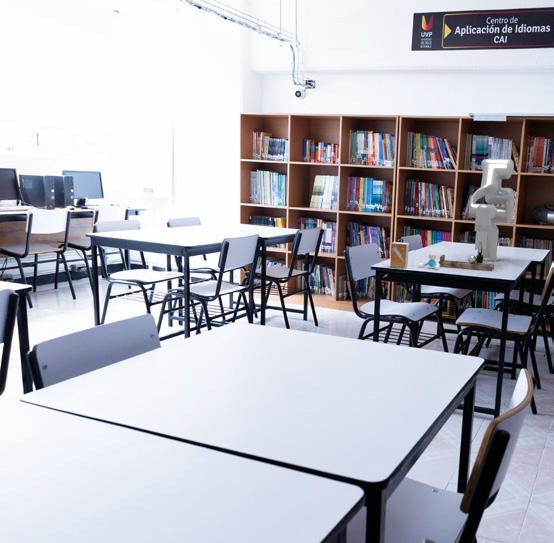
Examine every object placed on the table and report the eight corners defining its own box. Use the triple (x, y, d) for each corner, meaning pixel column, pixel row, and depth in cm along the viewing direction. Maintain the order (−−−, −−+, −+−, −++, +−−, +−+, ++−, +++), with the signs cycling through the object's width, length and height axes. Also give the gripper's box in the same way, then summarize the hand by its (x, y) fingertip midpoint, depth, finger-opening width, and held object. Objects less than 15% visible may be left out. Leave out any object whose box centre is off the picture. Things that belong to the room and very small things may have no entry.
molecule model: (433, 267, 357) (435, 250, 356) (449, 270, 347) (450, 253, 346) (416, 268, 351) (417, 251, 350) (432, 271, 341) (433, 254, 340)
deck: (493, 268, 355) (494, 258, 354) (492, 271, 346) (492, 260, 345) (440, 264, 365) (441, 254, 364) (437, 266, 356) (438, 256, 355)
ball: (476, 262, 355) (468, 263, 356) (476, 254, 354) (468, 255, 356) (476, 264, 351) (468, 264, 352) (476, 255, 350) (467, 256, 352)
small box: (389, 267, 348) (391, 242, 346) (392, 266, 353) (393, 241, 351) (405, 268, 345) (406, 244, 343) (407, 267, 351) (409, 242, 348)
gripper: (476, 227, 358) (473, 260, 361) (473, 229, 344) (470, 264, 347) (490, 228, 355) (487, 261, 358) (488, 230, 341) (485, 265, 344)
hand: (479, 262), depth 352 cm, fingers closed
